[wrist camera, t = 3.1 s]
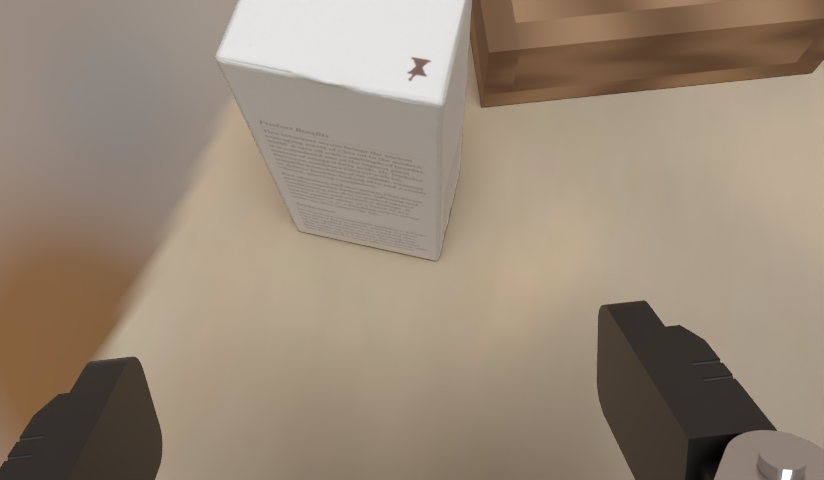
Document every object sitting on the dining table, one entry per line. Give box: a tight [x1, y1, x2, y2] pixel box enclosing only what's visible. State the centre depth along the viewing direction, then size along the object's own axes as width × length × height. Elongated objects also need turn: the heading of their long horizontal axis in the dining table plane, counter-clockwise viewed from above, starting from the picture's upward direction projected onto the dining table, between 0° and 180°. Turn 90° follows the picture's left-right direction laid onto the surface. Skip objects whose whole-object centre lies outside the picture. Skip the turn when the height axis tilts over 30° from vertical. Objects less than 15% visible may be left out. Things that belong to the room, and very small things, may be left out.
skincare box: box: [215, 0, 472, 261], centre depth 24 cm, size 6×4×12 cm
